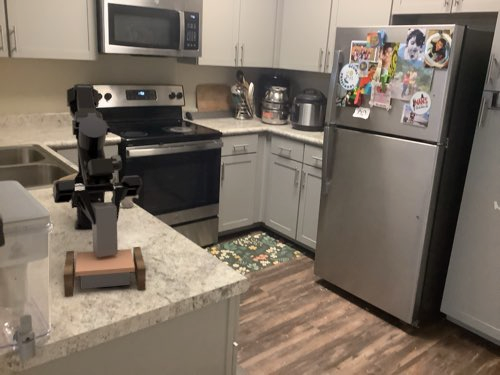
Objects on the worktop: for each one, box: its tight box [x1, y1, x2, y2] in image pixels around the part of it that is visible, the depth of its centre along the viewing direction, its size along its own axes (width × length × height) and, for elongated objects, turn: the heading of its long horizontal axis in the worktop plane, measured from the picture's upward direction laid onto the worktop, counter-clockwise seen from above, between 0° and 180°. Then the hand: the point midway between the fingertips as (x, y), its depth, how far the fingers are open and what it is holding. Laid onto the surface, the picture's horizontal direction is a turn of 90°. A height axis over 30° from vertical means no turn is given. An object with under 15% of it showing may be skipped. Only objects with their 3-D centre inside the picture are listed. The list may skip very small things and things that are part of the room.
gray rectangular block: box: [91, 201, 119, 257], centre depth 103 cm, size 4×4×11 cm
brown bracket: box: [63, 246, 147, 298], centre depth 103 cm, size 12×16×5 cm
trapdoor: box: [74, 248, 135, 290], centre depth 103 cm, size 10×12×4 cm
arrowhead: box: [120, 194, 139, 209], centre depth 151 cm, size 8×3×10 cm, turn 113°
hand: (105, 222), depth 101 cm, fingers closed on gray rectangular block, 4 cm apart
